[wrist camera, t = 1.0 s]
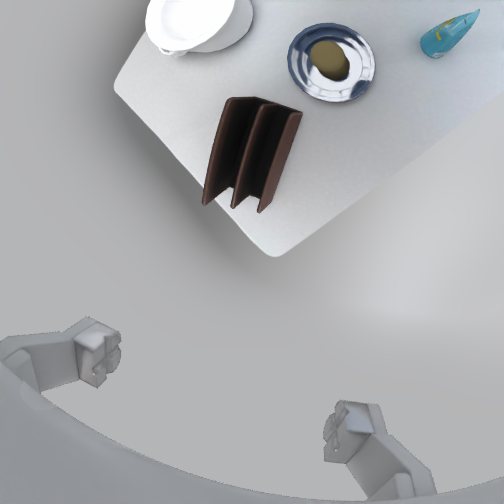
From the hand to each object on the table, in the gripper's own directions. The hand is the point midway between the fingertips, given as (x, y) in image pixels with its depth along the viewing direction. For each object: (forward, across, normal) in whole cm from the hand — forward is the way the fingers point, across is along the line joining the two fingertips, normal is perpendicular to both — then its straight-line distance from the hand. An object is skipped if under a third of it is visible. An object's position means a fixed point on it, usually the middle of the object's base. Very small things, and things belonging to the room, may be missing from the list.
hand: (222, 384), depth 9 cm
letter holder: (+49, +7, -12) cm, 51 cm away
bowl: (+41, -2, -31) cm, 51 cm away
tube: (+36, -18, -40) cm, 57 cm away
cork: (+41, -2, -31) cm, 51 cm away
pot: (+42, +22, -38) cm, 61 cm away
